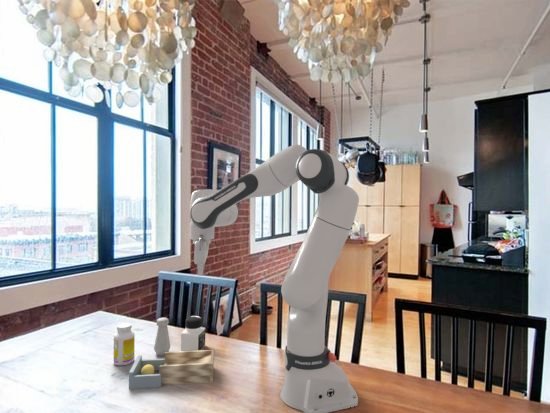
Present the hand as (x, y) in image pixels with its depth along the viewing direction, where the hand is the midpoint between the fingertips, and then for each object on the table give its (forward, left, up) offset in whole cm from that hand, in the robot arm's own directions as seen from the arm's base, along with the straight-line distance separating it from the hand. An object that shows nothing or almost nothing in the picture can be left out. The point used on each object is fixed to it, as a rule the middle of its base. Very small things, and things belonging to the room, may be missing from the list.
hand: (201, 272), depth 120 cm
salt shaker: (+14, -5, -31) cm, 35 cm away
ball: (+15, +12, -29) cm, 35 cm away
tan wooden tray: (+3, +13, -31) cm, 34 cm away
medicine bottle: (+3, -8, -31) cm, 33 cm away
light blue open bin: (+15, +13, -31) cm, 37 cm away
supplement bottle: (+26, 0, -31) cm, 41 cm away
